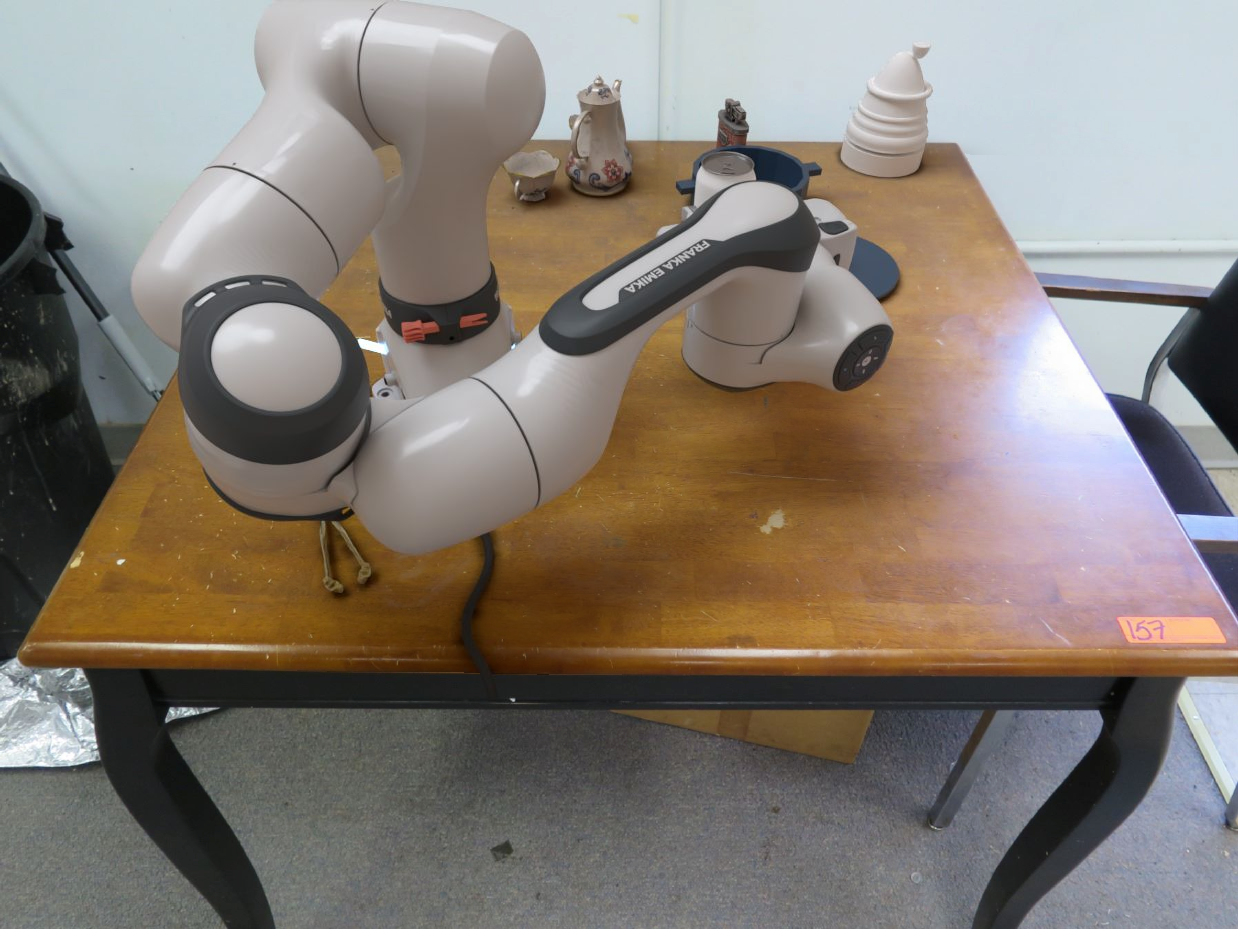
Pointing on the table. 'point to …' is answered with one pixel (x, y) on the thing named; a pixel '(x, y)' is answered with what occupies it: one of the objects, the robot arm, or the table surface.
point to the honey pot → (890, 119)
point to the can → (721, 174)
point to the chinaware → (582, 150)
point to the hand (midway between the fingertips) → (719, 205)
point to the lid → (874, 268)
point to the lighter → (732, 125)
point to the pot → (763, 169)
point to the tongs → (328, 581)
